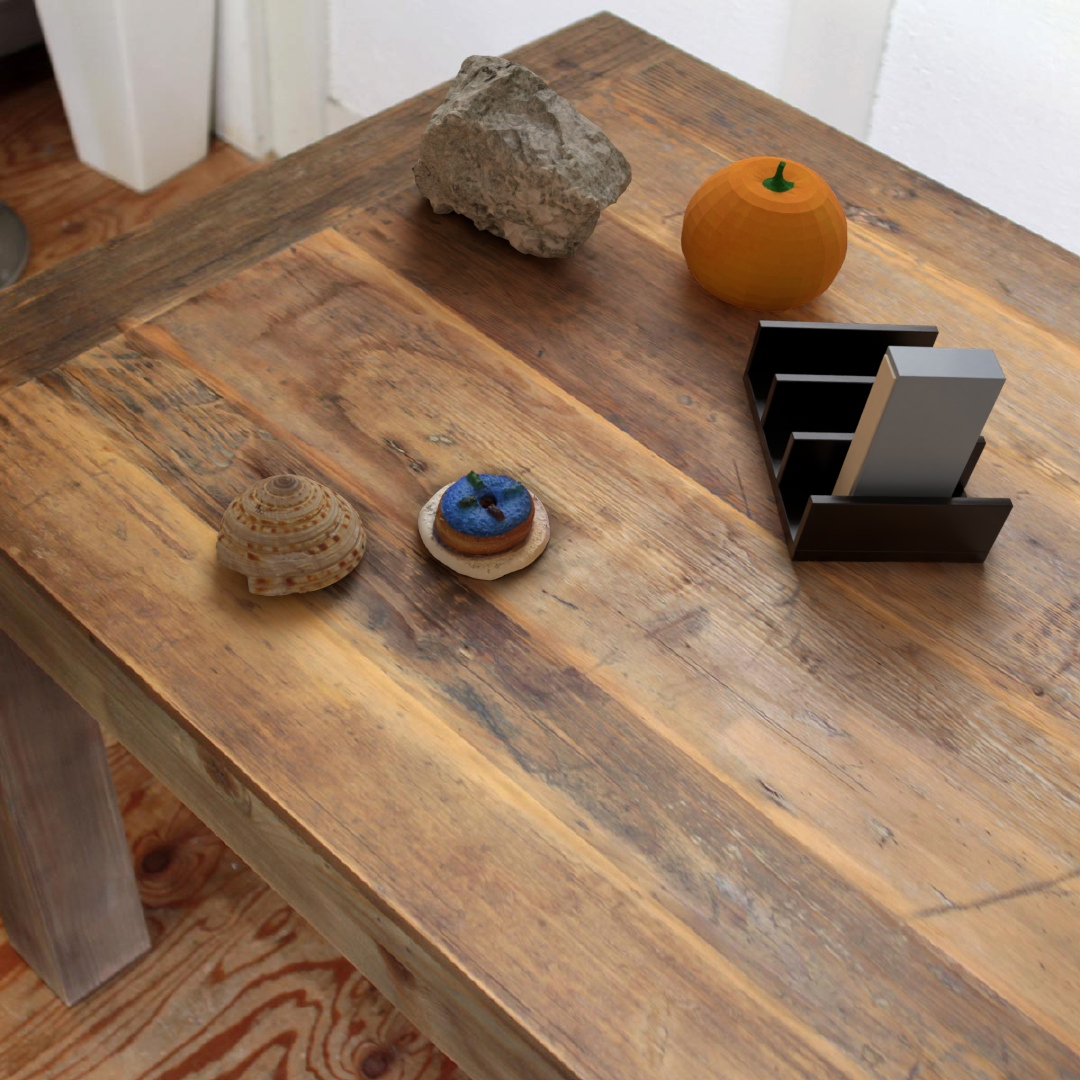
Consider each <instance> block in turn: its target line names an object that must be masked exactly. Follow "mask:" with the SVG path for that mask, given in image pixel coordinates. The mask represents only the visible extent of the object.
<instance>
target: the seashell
mask: <svg viewBox="0 0 1080 1080" xmlns="http://www.w3.org/2000/svg"><path fill="white" fill-rule="evenodd" d="M219 529H220V530H219V532H218V533H217V535H216V543H215V549H216V561H217V562H218V564H219V565H220V566H221V567H225V568H226V569H228V570H230V571H234V572H237V573H238V574H241V575H243V576H245V577H246V580H247V586H248V592H249V593H250V594H252V595H259V596H265V597H267V596H270V597H275V596H286V595H291V594H292V593H298V594H302V593H303V594H306V593H307V592H314V591H317V590H321V589H325V588H326V587H329V586H331V585H332V584H335V583H337V582H339V581H341V580H342V579H343V578H344V577H346V576H347V575H349V574H350V573H351V572H352V571H354V569H355V568H356V567H357V566H358V565H359V563H360V562H361V561H362V559H363V557H364V554H365V552H366V549H367V543H368V542H367V540H368V539H367V537H368V536H367V533H366V529H365V526H364V524H363V521H362V518H361V516H360V515H359V513H358V512H357V510H356V509H355V507H354V506H353V505H352V504H351V503H350V502H349V501H348V500H347V499H345V497H343V496H342V495H340V494H339V493H338V492H337V491H334V490H333V489H331V488H329V487H327V486H325V485H324V484H321V483H320V482H317V481H315V480H313V479H311V478H309V477H306V476H302V475H299V474H292V473H287V474H285V473H284V474H277V475H272V476H268V477H266V478H264V479H261V480H258V481H256V482H255V483H253V484H251V485H250V486H248V487H247V488H245V489H244V490H243V491H241V492H240V493H239V494H238V495H236V497H234V498H233V499H232V501H231V502H230V503H229V504H228V506H227V507H226V508H225V510H224V513H223V516H222V519H221V522H220V528H219Z"/></svg>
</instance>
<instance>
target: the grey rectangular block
mask: <svg viewBox="0 0 1080 1080" xmlns="http://www.w3.org/2000/svg"><path fill="white" fill-rule="evenodd" d="M1006 381H1007V377H1006V374H1005V373H1004V371H1003V368H1002V365H1001V364H1000V362H999V360H998V358H997V356H996V353H995V352H994V349H993V348H970V347H969V348H966V347H962V348H961V347H937V346H936V347H935V346H933V347H903V346H888V349H887V351H886V354H885V355H884V358H883V360H882V363H881V366H880V368H879V371H878V374H877V376H876V379H875V381H874V384H873V387H872V389H871V392H870V395H869V397H868V400H867V403H866V405H865V408H864V411H863V413H862V416H861V419H860V421H859V424H858V427H857V429H856V432H855V434H854V437H853V440H852V442H851V445H850V448H849V450H848V453H847V456H846V458H845V461H844V464H843V466H842V469H841V472H840V474H839V477H838V480H837V482H836V485H835V487H834V490H833V493H832V495H836V496H904V497H951V495H952V493H953V491H954V489H955V487H956V485H957V482H958V480H959V478H960V476H961V474H962V472H963V470H964V468H965V466H966V463H967V461H968V459H969V457H970V455H971V453H972V451H973V449H974V447H975V444H976V442H977V440H978V438H979V436H981V434H982V432H983V429H984V427H985V426H986V424H987V422H988V419H989V416H990V415H991V413H992V410H993V408H994V407H995V404H996V402H997V401H998V398H999V396H1000V394H1001V391H1002V390H1003V387H1004V385H1005V384H1006Z"/></svg>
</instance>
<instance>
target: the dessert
mask: <svg viewBox="0 0 1080 1080" xmlns="http://www.w3.org/2000/svg"><path fill="white" fill-rule="evenodd" d="M417 526H418V532H419V536H420V537H421V540H422V543H423V544H424V545H425V548H426V549H427V550H428V552H429V553H430V554H431V555H432V556H433V557H434V558H435V559H436V560H438V561H440V562H441V564H443V565H444V566H447V567H448V568H450V569H451V570H453V571H455V572H456V573H457V574H460V575H464V576H467V577H470V578H473V579H476V580H478V579H479V580H484V581H493V580H496V579H499V578H502V577H503V576H504V575H508V574H510V573H514V572H517V571H519V570H522V569H524V568H526V567H528V566H529V565H530V564H532V563H533V562H534V561H535V560H536V559H538V557H539V556H540V555H541V554H542V553H543V552H544V551H545V549H546V547H547V545H548V542H549V541H550V538H551V526H550V520H549V516H548V513H547V510H546V509H545V506H544V504H543V502H542V501H541V500H540V499H539V498H538V496H537V495H536V494H534V493H533V492H532V491H531V490H530V489H527V488H526V486H525V485H523V483H522V481H520V480H518V481H517V479H515V478H513V477H512V478H510V477H509V475H506V474H505V475H504V474H502V475H498V474H491V473H476V472H475V470H472V469H471V470H470V471H469V472H468V473H467V474H466V475H463V476H461V477H460V478H459V479H458V480H456V481H453V482H449V483H448V484H447V485H444V486H443V487H441V488H440V489H439V490H438V491H437V492H436V493H435V494H434V495H433V496H432V497H431V498H430V499H428V501H427V502H426V503H425V504H424V505H423V506H422V508H421V509H420V512H419V513H418V518H417Z"/></svg>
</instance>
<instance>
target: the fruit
mask: <svg viewBox="0 0 1080 1080" xmlns="http://www.w3.org/2000/svg"><path fill="white" fill-rule="evenodd" d="M847 221H848V220H847V218H846V213H845V211H844V209H843V207H842V205H841V203H840V201H839V199H838V198H837V196H836V193H835V192H834V191H833V188H831V186H830V185H829V184H828V183H827V181H825V180H824V179H823V178H822V177H821V176H820V175H819V174H818V173H817V172H816V171H814V170H813V169H811V168H810V167H808V166H806V165H804V164H802V163H800V162H797V161H795V160H791V159H789V158H784V157H778V156H772V155H771V156H770V155H769V156H768V155H764V156H763V155H761V156H759V155H758V156H752V157H748V158H743V159H741V160H737V161H735V162H733V163H730V164H729V165H727V166H726V167H724V168H721V169H720V170H718V171H716V172H714V173H713V174H712V175H711V176H709V177H707V179H705V181H704V182H703V183H702V184H701V186H699V188H698V189H697V190H696V191H695V193H694V194H693V195H692V197H691V198H690V200H689V202H688V204H687V205H686V208H685V211H684V214H683V219H682V227H681V235H680V247H681V252H682V254H683V257H684V260H685V262H686V265H687V267H688V270H689V272H690V274H691V275H692V277H693V278H694V279H695V280H696V282H698V283H699V284H700V285H701V287H702V288H703V289H704V291H706V292H708V293H709V294H711V295H712V296H714V297H715V298H717V299H719V300H720V301H722V302H725V303H726V304H730V305H732V306H735V307H737V308H741V309H744V310H748V311H749V310H750V311H755V312H756V311H757V312H762V313H770V312H771V313H772V312H773V313H774V312H786V311H788V310H793V309H797V308H800V307H803V306H806V305H807V304H809V303H811V302H812V301H813V300H815V299H817V298H818V297H820V296H822V294H824V293H825V292H826V291H827V290H828V289H829V288H830V286H831V285H832V284H833V282H834V281H835V279H836V277H837V276H838V274H839V272H840V271H841V269H842V267H843V264H844V262H845V260H846V256H847V253H848V222H847Z"/></svg>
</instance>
